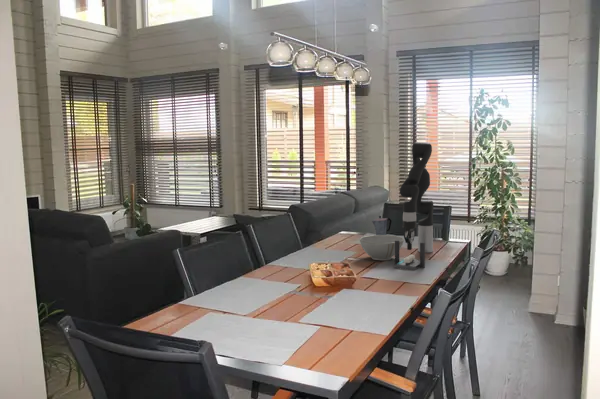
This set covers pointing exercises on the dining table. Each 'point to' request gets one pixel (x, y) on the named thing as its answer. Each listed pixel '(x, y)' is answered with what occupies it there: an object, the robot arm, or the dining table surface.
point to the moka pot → (381, 225)
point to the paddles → (409, 258)
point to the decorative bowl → (380, 246)
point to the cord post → (422, 255)
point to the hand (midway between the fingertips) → (409, 249)
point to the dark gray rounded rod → (396, 252)
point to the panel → (408, 265)
